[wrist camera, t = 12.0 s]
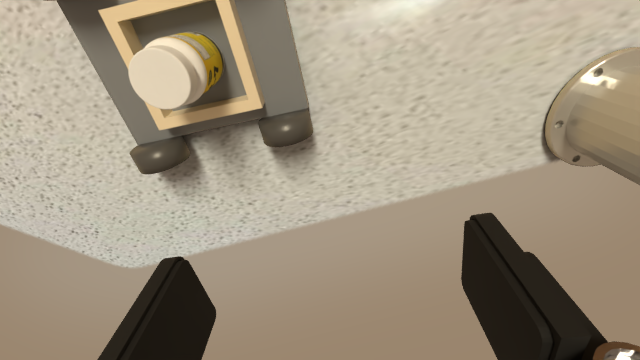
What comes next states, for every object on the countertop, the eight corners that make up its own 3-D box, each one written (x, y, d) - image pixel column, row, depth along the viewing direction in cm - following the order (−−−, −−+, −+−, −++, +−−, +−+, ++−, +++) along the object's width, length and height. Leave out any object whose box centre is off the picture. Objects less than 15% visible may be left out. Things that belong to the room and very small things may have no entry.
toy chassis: (265, -84, 23) (256, -103, 19) (312, 121, 32) (313, 140, 28) (54, -27, 25) (0, -34, 20) (153, 155, 33) (130, 178, 29)
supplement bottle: (206, 97, 29) (172, 129, 22) (161, 61, 27) (107, 82, 20) (236, 58, 27) (210, 79, 20) (190, 17, 25) (143, 23, 18)
